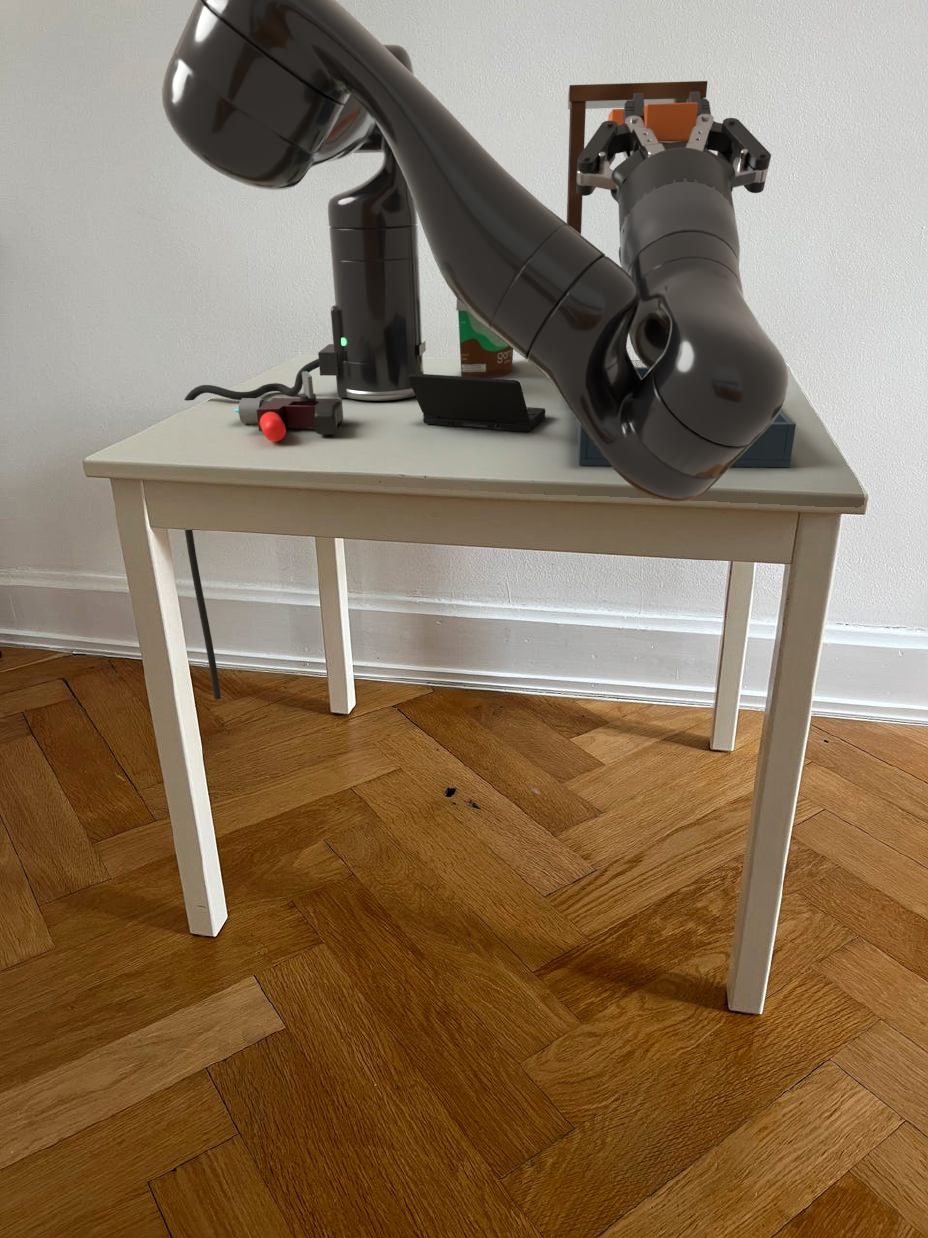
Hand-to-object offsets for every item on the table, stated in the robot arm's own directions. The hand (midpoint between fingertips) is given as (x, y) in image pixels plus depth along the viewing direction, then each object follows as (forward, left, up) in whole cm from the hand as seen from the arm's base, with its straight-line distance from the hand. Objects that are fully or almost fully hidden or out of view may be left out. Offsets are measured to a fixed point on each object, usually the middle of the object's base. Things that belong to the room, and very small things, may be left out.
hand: (664, 105), depth 69 cm
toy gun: (-34, +4, -27) cm, 43 cm away
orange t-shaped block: (0, +5, -3) cm, 6 cm away
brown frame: (0, +35, -26) cm, 44 cm away
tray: (+3, +5, -26) cm, 27 cm away
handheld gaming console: (-15, +7, -27) cm, 31 cm away
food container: (-15, +33, -27) cm, 45 cm away
